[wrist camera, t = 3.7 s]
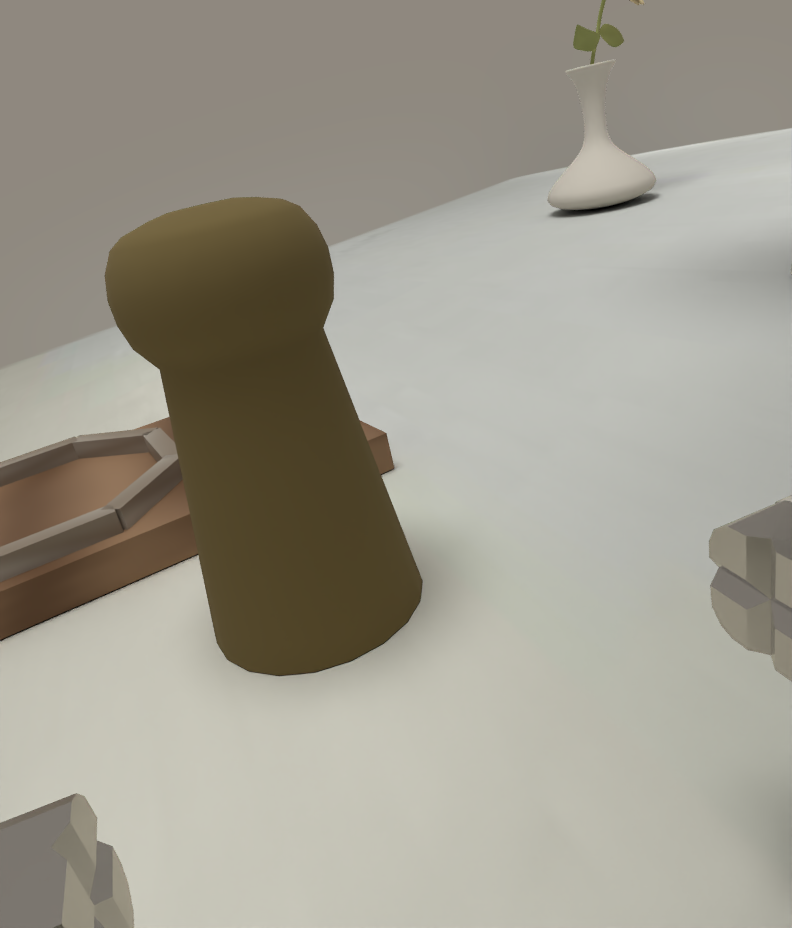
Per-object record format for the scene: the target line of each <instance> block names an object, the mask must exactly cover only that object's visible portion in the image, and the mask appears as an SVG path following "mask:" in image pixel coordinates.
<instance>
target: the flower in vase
mask: <svg viewBox="0 0 792 928" xmlns="http://www.w3.org/2000/svg"><path fill="white" fill-rule="evenodd" d="M605 1H606V0H602V3H601V7H600V11H599V16H598V22H597V29H596V32H594V31H591V30H588V29H586V28H584V27H581V26H580V25H577V27H576V31H575V36H574V42H573V45H574V48H575V49H577V50H583V51H592V56H591V63H590V65H587V66H583V67H579V68H575V69H571V70H567V71H565V73H566V74H567V75H568V77H569V78H570V79H571V80H572V82H573V83H574V85H575V87H576V89H577V91H578V95H579V98H580V102H581V106H582V112H583V119H584V132H585V136H584V143H583V146H582V149H581V151H580V152H579V154H578V156H577V157H576V158H575V160H574V161H573V162H572V163H571V165H570V166H569V167H568V168H567V169H566V170H565V172H564V173H563V174H562V175H561V176H560V178H559V179H558V180H557V181H556V183H555V184H554V186H553V187H552V189H551V190H550V192H549V195H548V200H547V201H548V202H549V203H550V205H551V206H553V207H556V208H559V209H566V210H586V209H595V208H601V207H607V206H611V205H615V204H619V203H623V202H626V201H629V200H631V199H634V198H636V197H638V196H641V195H643V194H645V193H646V192H647V191H649V190H650V189H652V188H653V186H654V185H655V183H656V181H657V180H656V178H655V175H654V173H653V172H652V171H651V170H650V169H649V168H647V167H646V166H645V165H644V164H642V163H641V162H639V161H638V160H636V159H635V158H633V157H631V156H630V155H628V154H626V153H625V152H623V151H622V150H620V149H619V148H618V147H616V145H615V144H613V143H612V141H611V139H610V137H609V135H608V131H607V125H606V112H605V99H606V88H607V82H608V78H609V74H610V72H611V69H612V67H613V65H614V63H615V61H616V60H615V59H614V60H609V61H604V62H600V63H595V64H594V58H595V52H596V47H597V44H598V42H599V39H600V35H601V37H602V38H603V39H604V40H605V41H606V42H607V43H608V44H609V45H610V46H612V47H617V46H619V45H621V44H622V43H623V41H624V39H623V37H622V35H621V33H620V32H619V31H618V29H617V28H615V27H613V26H612V25H609V24H604V25H603V26H602V27H601V28H600V24H601V17H602V12H603V8H604V5H605ZM630 1H631V2H634V3H635V4H637V5H639V3H640V4H643V5H644V1H643V0H630ZM599 30H600V31H599ZM599 34H600V35H599Z"/></svg>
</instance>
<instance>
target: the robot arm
mask: <svg viewBox="0 0 792 928" xmlns="http://www.w3.org/2000/svg"><path fill="white" fill-rule="evenodd" d="M790 274H791V275H792V265H791V273H790ZM709 558H710V559H711V560H712V561H713V562H714V563H715V564H716V565H717V566H718V567H719V569H718V571H717V573H716V575H715V577H714V579H713V581H712V583H711V585H710V588H711V600H712V608H713V610H714V612H715V614H716V616H717V618H718V620H719V622H720V624H721V626H722V627H723V628H724V630H725V631H726V632H727V633H728V634H729V635H730V636H731V638H732V639H734V640H735V641H736V642H738V643H739V644H740V645H742V646H743V647H744V648H746V649H747V650H750V651H755V652H759V653H763V654H768V655H771V658H772V661H773V664H774V668H775V670H776V671H777V672H779V673H780V674H782V675H783V676H784V677H786V678H787V679H789V680H790V681H791V682H792V495H791V496H788V497H786V498H784V499H782V500H779V501H777V502H776V503H775V504H773V505H770V506H768V507H766V508H763V509H761V510H759V511H756V512H754V513H751V514H749V515H747V516H744V517H742V518H740V519H737V520H735V521H733V522H730V523H728V524H725V525H723V526H721V527H718V528H716V529H714V530H713V532H712V535H711V537H710V540H709ZM0 928H134V912H133V906H132V901H131V895H130V890H129V885H128V881H127V878H126V875H125V873H124V870H123V867H122V864H121V862H120V860H119V858H118V856H117V854H116V852H115V850H114V848H113V846H110V845H107V844H105V843H102V842H99V841H97V816H96V815H95V813H94V811H93V810H92V808H91V806H90V805H89V803H88V801H87V799H86V798H85V796H83V795H80V794H77V793H76V794H73V795H71V796H68V797H66V798H63V799H61V800H58V801H56V802H53V803H50V804H48V805H45V806H43V807H40V808H38V809H35V810H32V811H30V812H27V813H25V814H22V815H20V816H17V817H15V818H12V819H9V820H7V821H4V822H2V823H0Z"/></svg>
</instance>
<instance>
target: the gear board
mask: <svg viewBox="0 0 792 928" xmlns="http://www.w3.org/2000/svg"><path fill="white" fill-rule="evenodd" d="M359 421H360V420H359ZM360 423H361V426H362V428H363V431H364V433H365V436H366V438H367V441H368V443H369V446H370V449H371V451H372V454H373V456H374V459H375V461H376V464H377V466H378V469H379V472H380V474H383V473H385V472H387V471H389V470H392V469H394V465H393V460H392V456H391V451H390V447H389V443H388V438H387V434H386V433H385V432H383V431H381V430H379V429H377V428H375V427H372V426H370V425H368V424H366V423H364V422H362V421H360ZM196 554H198V550H197V545H196V541H195V536H194V531H193V526H192V521H191V517H190V512H189V507H188V502H187V498H186V493H185V488H184V483H183V478H182V474H181V469H180V464H179V459H178V454H177V450H176V445H175V440H174V435H173V431H172V426H171V421H170V417H168V418H165V419H162V420H159V421H157V422H154V423H151V424H148V425H145V426H143V427H140V428H137V429H134V430H127V431H118V432H108V433H99V434H89V435H80V436H78V437H72V438H69V439H67V440H64V441H61V442H58V443H55V444H52V445H49V446H46V447H43V448H41V449H38V450H35V451H32V452H29V453H26V454H23V455H20V456H17V457H15V458H12V459H9V460H6V461H3V462H0V640H1V639H3V638H5V637H8V636H10V635H12V634H15V633H17V632H19V631H21V630H24V629H26V628H28V627H31V626H33V625H35V624H38V623H40V622H42V621H44V620H47V619H49V618H51V617H54V616H56V615H58V614H61V613H63V612H65V611H67V610H70V609H72V608H74V607H77V606H79V605H81V604H84V603H86V602H88V601H90V600H93V599H95V598H97V597H100V596H102V595H104V594H107V593H109V592H111V591H113V590H116V589H118V588H120V587H123V586H125V585H127V584H130V583H132V582H134V581H136V580H139V579H141V578H143V577H146V576H148V575H150V574H153V573H155V572H157V571H159V570H162V569H164V568H166V567H169V566H171V565H173V564H176V563H178V562H180V561H182V560H185V559H187V558H189V557H192V556H194V555H196Z"/></svg>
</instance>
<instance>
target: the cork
mask: <svg viewBox="0 0 792 928" xmlns="http://www.w3.org/2000/svg"><path fill="white" fill-rule="evenodd" d="M105 282H106V291H107V299H108V303H109V306H110V308H111V311H112V314H113V316H114V319H115V321H116V324H117V326H118V328H119V329H120V331H121V332H122V334H123V335H124V337H125V338H126V340H127V341H128V343H129V344H130V346H131V347H132V349H133V350H134V351H136V352H137V353H138V354H140V355H141V356H142V357H144V358H145V359H146V360H148V361H149V362H150V363H152V364H153V365H154V366H156V367H157V368H158V369H160V373H161V378H162V383H163V388H164V392H165V397H166V402H167V407H168V411H169V416H170V421H171V426H172V431H173V435H174V440H175V445H176V450H177V454H178V459H179V464H180V469H181V474H182V478H183V483H184V488H185V493H186V498H187V502H188V507H189V512H190V517H191V521H192V526H193V531H194V536H195V541H196V545H197V550H198V555H199V560H200V564H201V569H202V574H203V579H204V584H205V588H206V593H207V598H208V603H209V607H210V612H211V617H212V622H213V627H214V631H215V636H216V641H217V644H218V645H219V647H220V649H221V650H222V652H223V653H224V655H225V657H226V658H227V660H229V661H231V662H233V663H235V664H237V665H238V666H240V667H242V668H244V669H246V670H248V671H252V672H258V673H265V674H272V675H278V676H280V675H290V674H300V673H310V672H317V671H320V670H323V669H326V668H329V667H333V666H336V665H339V664H342V663H345V662H349V661H352V660H354V659H355V658H357V657H359V656H361V655H363V654H365V653H366V652H368V651H370V650H372V649H374V648H376V647H377V646H379V645H381V644H383V643H384V642H385V641H387V640H388V639H389V638H390V637H391V636H392V635H393V634H394V633H396V632H397V631H398V630H399V629H400V628H401V627H402V626H403V625H405V624H406V623H407V622H408V620H409V618H410V617H411V615H412V613H413V612H414V610H415V609H416V607H417V605H418V604H419V602H420V599H421V589H422V579H421V576H420V573H419V571H418V568H417V566H416V563H415V561H414V558H413V556H412V553H411V551H410V548H409V545H408V543H407V540H406V538H405V535H404V533H403V530H402V528H401V525H400V522H399V520H398V517H397V515H396V512H395V510H394V507H393V505H392V502H391V500H390V497H389V494H388V492H387V489H386V487H385V484H384V482H383V479H382V477H381V474H380V472H379V469H378V466H377V464H376V461H375V459H374V456H373V454H372V451H371V449H370V446H369V443H368V441H367V438H366V436H365V433H364V431H363V428H362V426H361V423H360V421H359V418H358V415H357V413H356V410H355V408H354V405H353V403H352V400H351V398H350V395H349V393H348V390H347V387H346V385H345V382H344V380H343V377H342V375H341V372H340V370H339V367H338V364H337V362H336V359H335V357H334V354H333V352H332V349H331V347H330V344H329V342H328V339H327V336H326V334H325V331H324V329H323V327H324V324H325V321H326V318H327V316H328V313H329V310H330V308H331V305H332V302H333V299H334V272H333V267H332V262H331V258H330V253H329V249H328V246H327V244H326V242H325V240H324V238H323V236H322V234H321V232H320V230H319V228H318V226H317V224H316V223H315V222H314V221H313V220H312V219H311V218H310V217H309V216H308V215H307V213H306V212H305V211H304V210H303V209H302V208H301V207H300V206H298V205H296V204H293V203H291V202H289V201H286V200H283V199H277V198H276V199H275V198H261V197H242V198H230V199H225V200H220V201H215V202H210V203H206V204H201V205H197V206H193V207H189V208H185V209H181V210H177V211H173V212H170V213H166V214H164V215H162V216H160V217H158V218H155V219H153V220H151V221H149V222H147V223H145V224H143V225H142V226H140V227H138V228H137V229H135V230H133V231H132V232H130V233H128V234H126V235H125V236H123V237H121V238H120V239H119V241H118V242H117V243H116V244H115V245H114V247H113V248H112V249H111V250H110V252H109V257H108V262H107V267H106V272H105Z"/></svg>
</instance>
